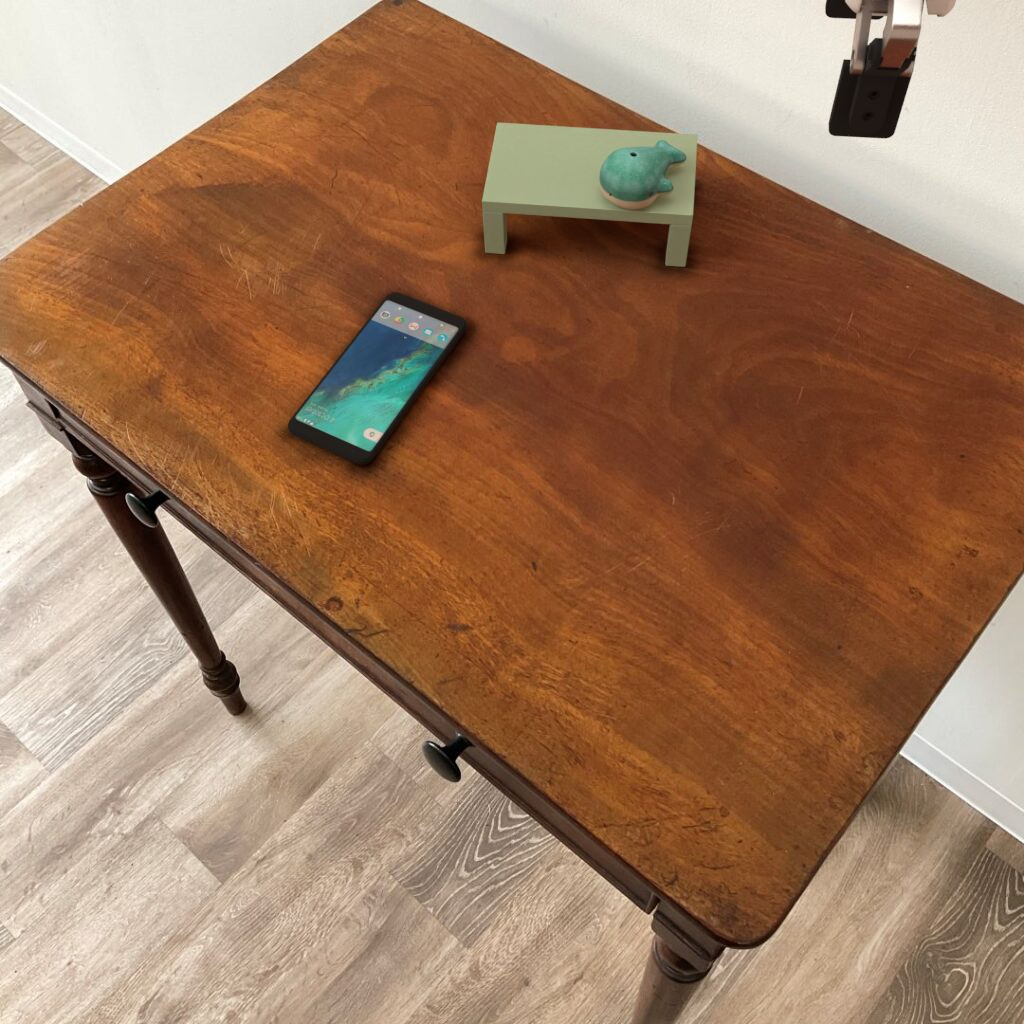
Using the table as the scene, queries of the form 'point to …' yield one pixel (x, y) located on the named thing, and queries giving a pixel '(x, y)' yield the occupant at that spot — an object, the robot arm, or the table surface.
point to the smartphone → (377, 378)
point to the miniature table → (579, 180)
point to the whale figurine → (638, 174)
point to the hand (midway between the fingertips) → (856, 72)
